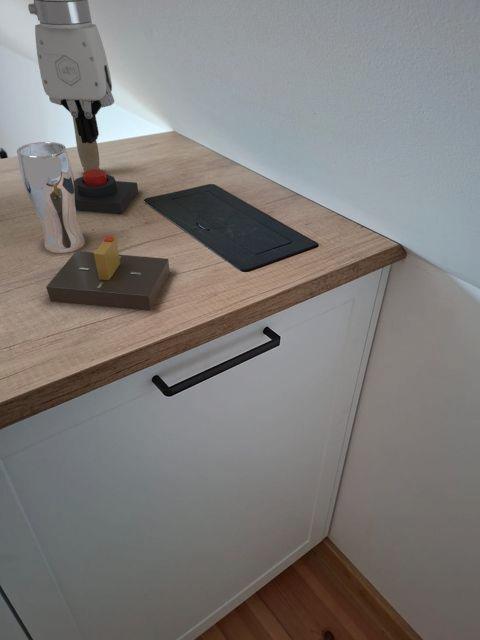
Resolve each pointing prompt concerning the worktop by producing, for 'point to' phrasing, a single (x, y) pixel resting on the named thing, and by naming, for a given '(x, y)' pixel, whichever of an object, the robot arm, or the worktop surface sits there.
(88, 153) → the handle
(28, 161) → the beer glass
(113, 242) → the thumb turn
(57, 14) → the robot arm
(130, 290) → the plate
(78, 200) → the alarm box
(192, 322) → the worktop surface
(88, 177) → the button
